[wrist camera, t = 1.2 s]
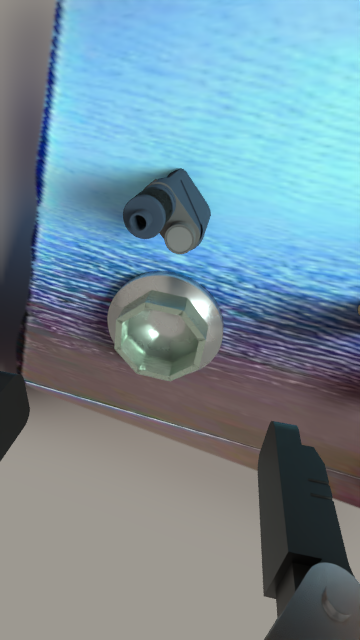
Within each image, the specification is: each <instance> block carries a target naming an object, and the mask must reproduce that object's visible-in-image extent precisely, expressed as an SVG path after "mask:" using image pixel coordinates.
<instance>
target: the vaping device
mask: <svg viewBox="0 0 360 640" xmlns="http://www.w3.org/2000/svg"><path fill="white" fill-rule="evenodd" d="M210 216H211V213H210V209H209V206H208V204H207V202H206V201H205V199H204V198H203V196H202V195H201V193H200V192H199V190H198V189H197V187H196V186H195V184H194V183H193V181H192V180H191V178H190V177H189V175H188V174H187V172H186V171H185V170H184V169H182V168H180V169H179V170H176V171H174V172H172V173H170V174H169V175H168V176H167V177H166V178H160V179H158V180H157V179H155V180H154V181H153V182H152V183H150V184H149V185H148V186H147V187H146V188H145V189H144V190H143V191H142V192H140V193H139V194H138V195H136V196H135V197H134V198H132V199H131V200H130V201H129V202H128V203H127V204H126V206H125V208H124V212H123V220H124V223H125V226H126V228H127V229H128V230H129V231H130V233H132V234H133V235H134V236H136V237H138V238H142V239H149V238H152V237H155V236H156V235H157V234H159V233H160V234H161V236H162V237H163V238H164V240H165V244H166V246H167V248H168V249H169V250H170V251H172V252H173V253H176V254H184V253H187V252H188V251H190V250H192V249H194V248H196V247H197V246H198V245H199V244H200V243H201V241H202V239H203V237H204V234H205V231H206V228H207V225H208V222H209V219H210Z"/></svg>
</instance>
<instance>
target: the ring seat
mask: <svg viewBox="0 0 360 640" xmlns="http://www.w3.org/2000/svg"><path fill="white" fill-rule="evenodd" d="M107 321H108V329H109V333H110V336H111V338H112V340H113V342H114V344H115V348H114V349H115V350H116V351H117V352H118V353H119V354H120V356H121V357H122V358H123V359H124V360H125V361H126V362H127V363H128V364H129V366H130V367H131V368H132V369H133V370H134V371H135V372H136V373H137V374H141V375H145V376H149V377H154V378H158V379H162V380H166V381H172V380H174V379H177V378H179V377H181V376H183V375H186V374H189V373H192V372H195V371H197V370H199V369H201V368H203V367H204V366H206V365H207V364H208V363H209V362H210V361H211V360H212V359H213V358H214V357H215V356H216V354H217V352H218V351H219V349H220V346H221V343H222V338H223V317H222V313H221V310H220V308H219V306H218V304H217V302H216V300H215V299H214V297H213V296H212V295H211V294H210V292H209V291H208V290H206V289H205V288H204V287H203V286H202V285H200V284H199V283H198V282H196V281H194V280H193V279H191V278H189V277H186V276H184V275H181V274H177V273H173V272H167V271H155V272H148V273H144V274H141V275H138V276H136V277H134V278H132V279H131V280H129V281H128V282H127V283H125V284H124V285H123V286H122V287H121V288H120V290H119V291H118V293H117V294H116V295H115V297H114V298H113V300H112V302H111V304H110V307H109V310H108V317H107Z"/></svg>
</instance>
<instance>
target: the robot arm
mask: <svg viewBox="0 0 360 640" xmlns="http://www.w3.org/2000/svg"><path fill="white" fill-rule="evenodd" d="M29 412H30V407H29V402H28V398H27V392H26V387H25V383H24V378H23V376H22V375H19V374H13V373H8V372H3V371H0V461H1V460H2V458H3V457H4V455H5V454H6V452H7V451H8V449H9V448H10V447H11V445H12V444H13V442H14V441H15V439H16V438H17V436H18V435H19V434H20V432H21V430H22V429H23V428H24V426H25V425H26V423H27V420H28V417H29ZM258 487H259V506H260V507H259V508H260V527H261V549H262V568H263V589H264V596H266V597H270V598H274V599H276V603H277V616H278V618H277V620H276V621H275V623H274V625H273V626H272V628H271V629H270V631H269V633H268V634H267V636H266V637H265V639H264V640H360V584H359V582H358V581H357V580H356V579H355V577H354V575H353V573H352V571H351V569H350V566H349V563H348V559H347V555H346V552H345V547H344V543H343V539H342V535H341V530H340V526H339V522H338V518H337V514H336V510H335V506H334V502H333V501H332V493H331V489H330V486H329V481H328V477H327V472H326V468H325V464H324V463H323V461H322V459H321V458H320V456H319V455H318V453H317V452H316V450H315V449H314V447H310V446H304V445H301V440H300V434H299V429H298V427H297V426H296V425H291V424H285V423H280V422H274V421H271V423H270V425H269V427H268V430H267V433H266V436H265V439H264V442H263V445H262V448H261V451H260V454H259V460H258Z"/></svg>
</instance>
